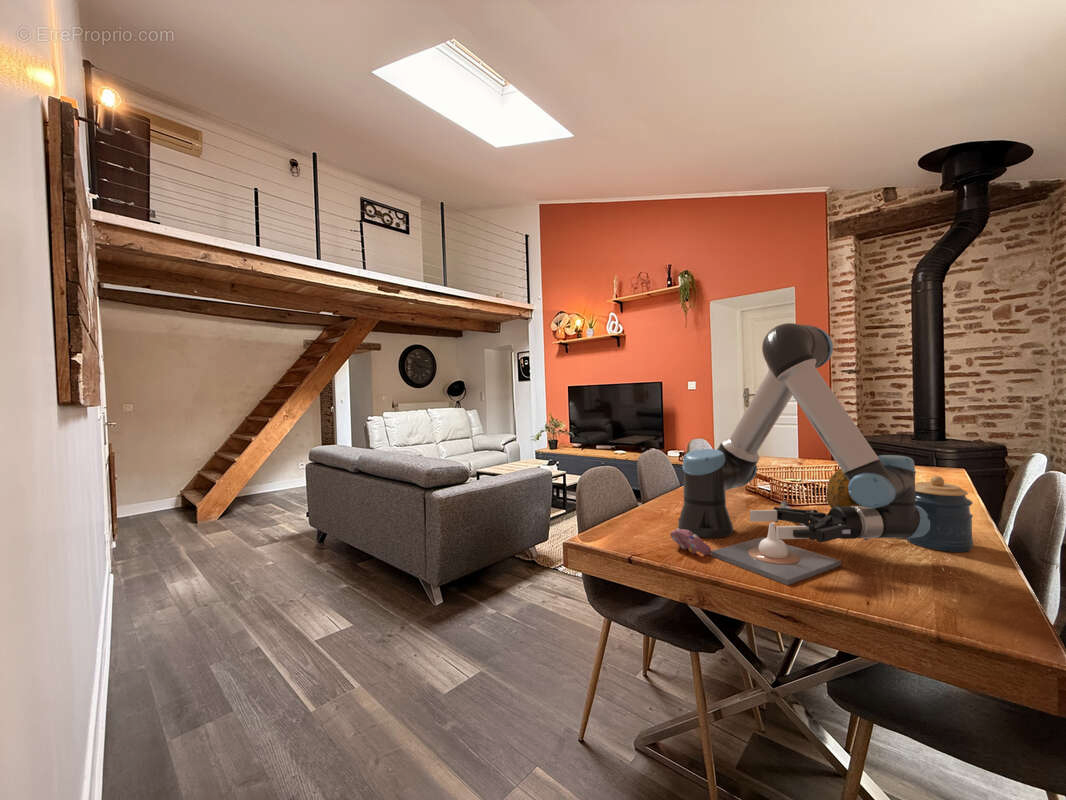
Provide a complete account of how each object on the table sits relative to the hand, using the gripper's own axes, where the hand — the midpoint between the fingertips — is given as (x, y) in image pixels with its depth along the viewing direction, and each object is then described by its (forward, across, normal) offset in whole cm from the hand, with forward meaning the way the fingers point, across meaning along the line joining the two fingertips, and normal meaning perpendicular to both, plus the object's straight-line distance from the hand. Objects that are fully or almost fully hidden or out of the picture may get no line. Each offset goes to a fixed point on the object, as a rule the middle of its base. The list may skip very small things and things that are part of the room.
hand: (762, 523), depth 108 cm
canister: (-49, +10, -9) cm, 51 cm away
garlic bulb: (-2, 0, -8) cm, 8 cm away
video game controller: (+15, +7, -9) cm, 19 cm away
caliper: (-22, +25, -10) cm, 35 cm away
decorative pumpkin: (-44, +29, -9) cm, 54 cm away
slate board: (-2, 0, -9) cm, 9 cm away
